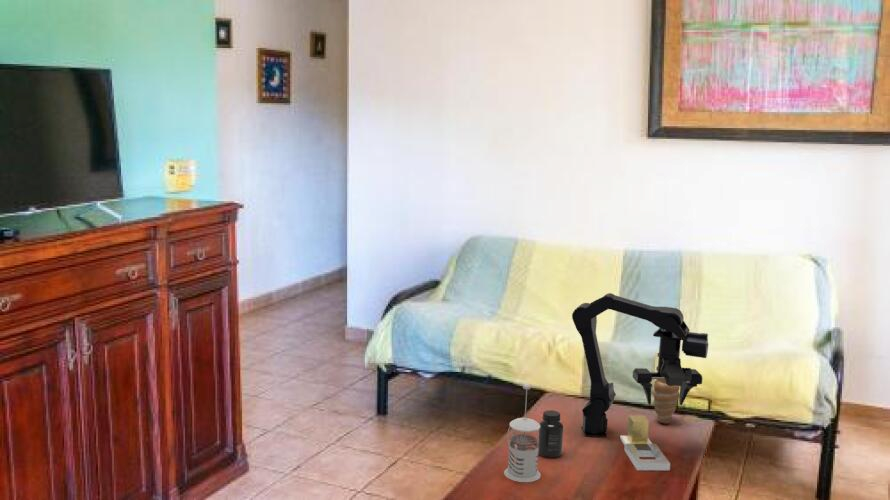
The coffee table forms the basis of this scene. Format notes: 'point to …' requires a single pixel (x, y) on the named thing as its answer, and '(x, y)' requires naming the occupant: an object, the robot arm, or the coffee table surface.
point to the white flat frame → (647, 451)
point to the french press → (523, 450)
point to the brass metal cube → (637, 429)
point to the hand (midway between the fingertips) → (664, 404)
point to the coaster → (626, 441)
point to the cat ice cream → (665, 400)
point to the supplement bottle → (550, 435)
